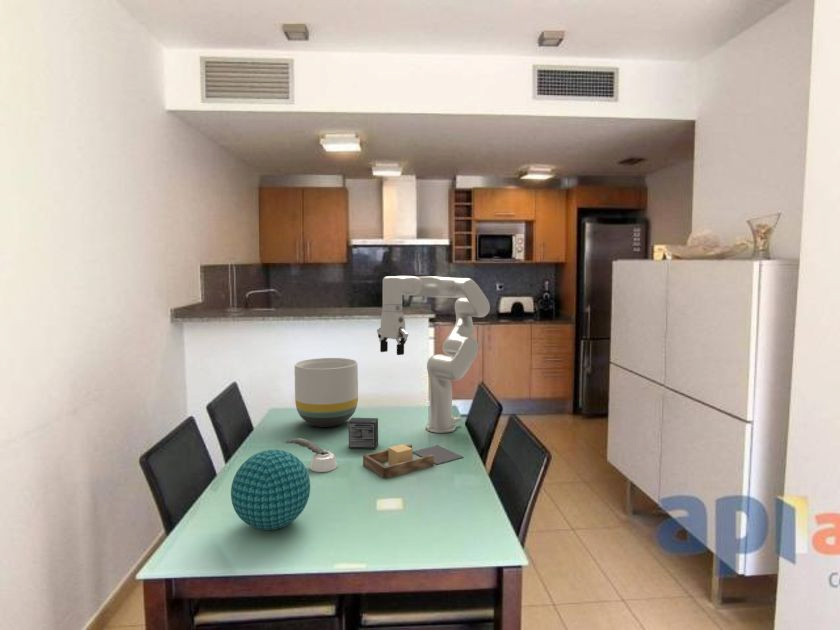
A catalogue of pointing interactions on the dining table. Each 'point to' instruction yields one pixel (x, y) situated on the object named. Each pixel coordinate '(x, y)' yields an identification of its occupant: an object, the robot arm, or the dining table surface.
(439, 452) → the charcoal mat
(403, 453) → the ochre cube
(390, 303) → the robot arm
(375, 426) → the small box
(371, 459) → the walnut cubby
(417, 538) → the dining table surface
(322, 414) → the planter
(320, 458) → the inkwell
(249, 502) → the decorative ball
